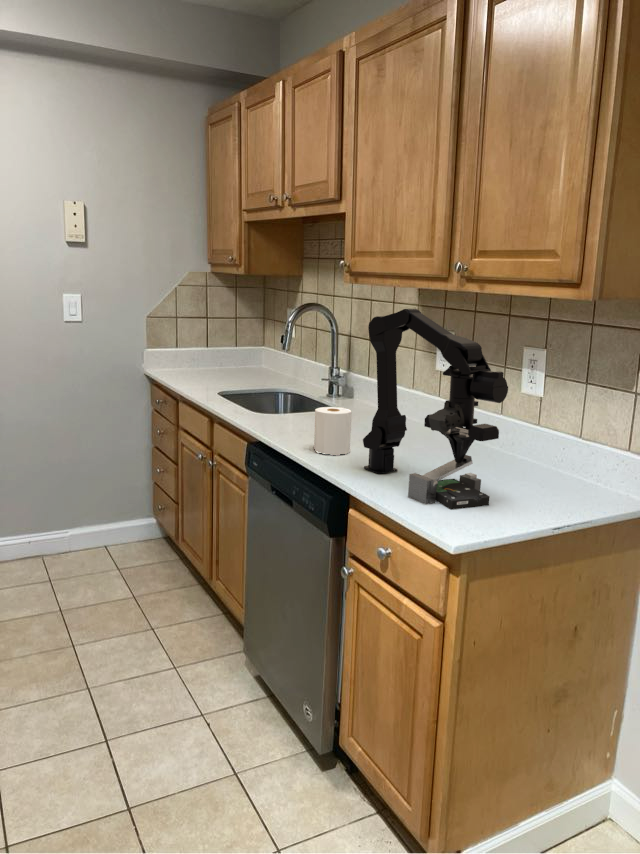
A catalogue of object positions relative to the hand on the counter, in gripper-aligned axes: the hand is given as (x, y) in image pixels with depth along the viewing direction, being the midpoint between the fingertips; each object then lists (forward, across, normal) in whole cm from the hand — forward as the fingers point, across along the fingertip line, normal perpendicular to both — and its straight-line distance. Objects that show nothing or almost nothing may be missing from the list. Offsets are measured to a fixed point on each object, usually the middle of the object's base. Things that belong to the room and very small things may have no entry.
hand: (458, 462), depth 166 cm
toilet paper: (+7, -46, -3) cm, 47 cm away
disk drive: (+8, +2, -3) cm, 9 cm away
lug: (+8, 0, +4) cm, 9 cm away
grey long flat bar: (+2, 0, -3) cm, 4 cm away
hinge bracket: (+7, 0, -12) cm, 14 cm away
